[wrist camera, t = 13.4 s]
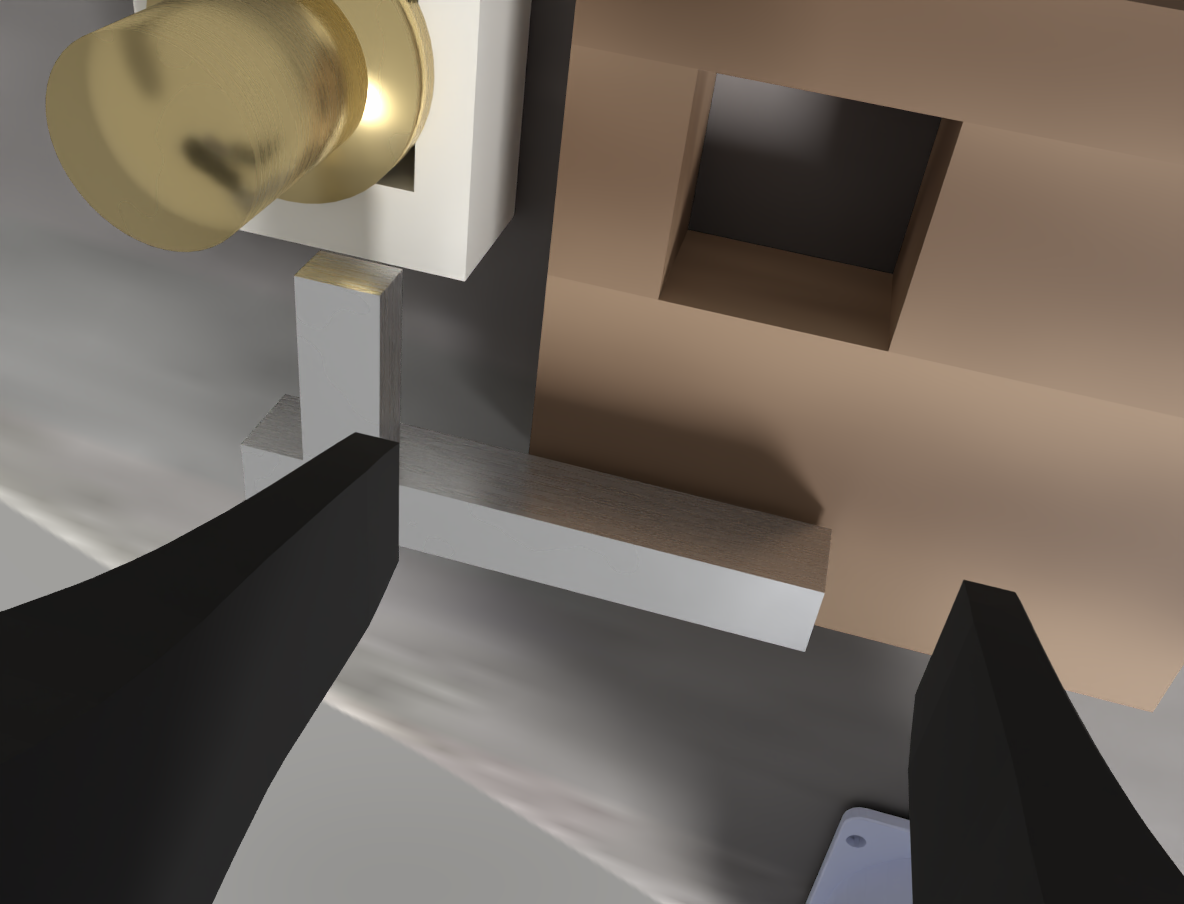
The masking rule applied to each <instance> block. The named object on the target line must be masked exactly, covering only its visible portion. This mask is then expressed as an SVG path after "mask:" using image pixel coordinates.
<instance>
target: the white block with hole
mask: <svg viewBox="0 0 1184 904" xmlns="http://www.w3.org/2000/svg"><path fill="white" fill-rule="evenodd" d="M531 2H532V0H418V4H419V6H420V9H421V11H422V13H423V16H424V18H425V21H426V25H427V28H428V32H429V36H430V39H431V45H432V51H433V58H434V90H433V98H432V103H431V107H430V112H429V115H428V118H427V120H426V123H425V126H424V128H423V130H422V132H421V134H420V136H419V138H418V139H417V141H416V143H415V144H414V146H413V147H412V148H411V149H410V151H409V152H408V153H407V155H406V156H405V157H404V158H402V159H401V160H400V161H399V162H398V163H397V164H396V165H395V166H394V167H393V168H392V169H391V170H390V171H389V172H388V173H387V174H386V175H384V176H383V177H382V178H381V179H380V180H379V181H378V182H377V183H376V184H374V185H373V186H371V187H370V188H368V189H367V190H365V191H364V192H361V193H359V194H357V195H355V196H353V197H351V198H347V199H344V200H340V201H337V202H330V203H322V204H304V203H297V202H291V201H286V200H282V199H278V198H277V199H276V200H274V201H273V202H272V203H271V204H270V205H268V206H267V207H266V208H265V209H263V210H262V211H261V212H260V213H259V214H257V215H256V216H255V217H254V218H253V219H251V220H250V221H249V222H248V223H246V224H245V225H244V226H243V227H242V228H240V229H239V230H242V231H246V232H250V233H255V234H259V235H264V236H268V237H272V238H277V239H281V240H285V241H290V242H294V243H299V244H303V245H307V246H312V247H316V248H321V249H325V250H329V251H334V252H338V253H342V254H347V255H351V256H356V257H360V258H364V259H369V260H373V261H377V262H382V263H386V264H391V265H395V266H399V267H404V268H408V269H412V270H417V271H421V272H426V273H430V274H434V275H439V276H443V277H448V278H452V279H456V280H461V281H466V279H467V278H468V277H469V275H470V274H471V273H472V271H473V270H474V269H475V267H476V266H477V265H478V263H479V262H480V261H481V259H482V258H483V257H484V255H485V254H486V253H487V251H488V250H489V249H490V247H491V246H492V245H493V243H494V242H495V241H496V239H497V238H498V237H499V235H500V234H501V233H502V231H503V230H504V229H505V227H506V226H507V225H508V223H509V222H510V221H511V219H512V218H513V217H514V212H515V200H516V188H517V175H518V163H519V151H520V138H521V126H522V114H523V101H524V89H525V76H526V64H527V52H528V39H529V27H530V15H531ZM133 5H134V13H137V12H139V11H141V10H144V9H146V5H147V0H133Z"/></svg>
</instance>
